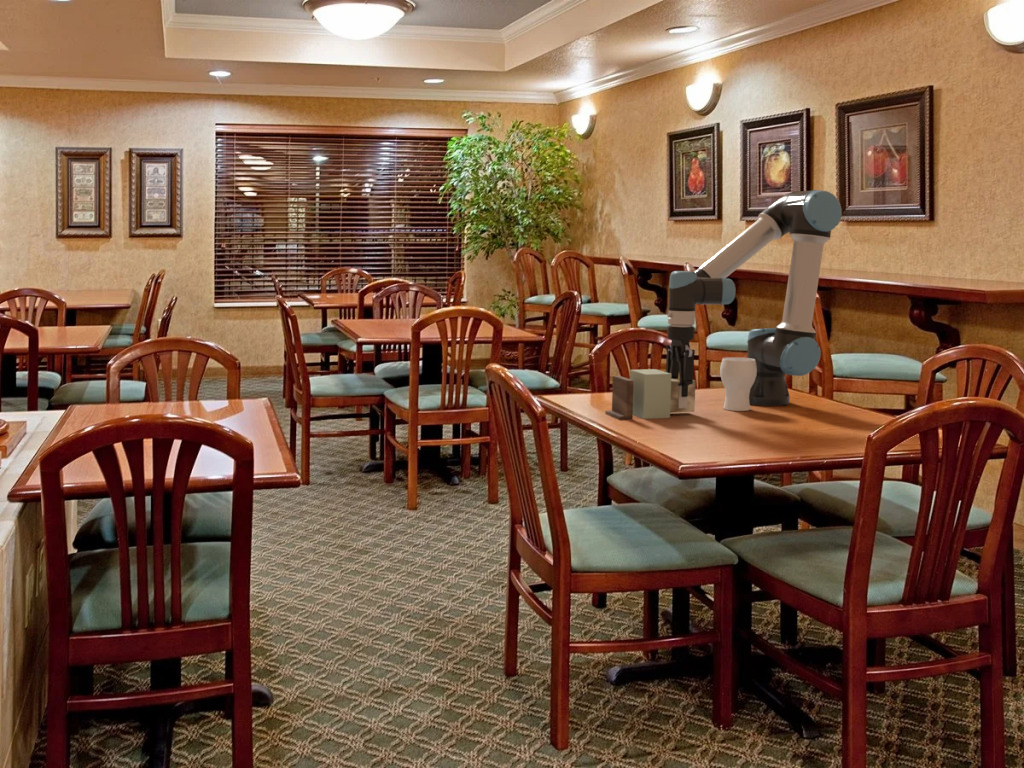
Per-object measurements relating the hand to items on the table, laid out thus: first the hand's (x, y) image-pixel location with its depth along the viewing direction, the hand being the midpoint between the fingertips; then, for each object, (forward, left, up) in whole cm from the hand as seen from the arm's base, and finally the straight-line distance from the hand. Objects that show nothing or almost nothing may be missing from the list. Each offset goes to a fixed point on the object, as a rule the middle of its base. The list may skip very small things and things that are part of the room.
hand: (677, 406), depth 305 cm
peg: (+3, 0, -1) cm, 3 cm away
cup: (-22, -5, -3) cm, 22 cm away
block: (+9, 0, -2) cm, 9 cm away
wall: (+17, 0, -2) cm, 18 cm away
